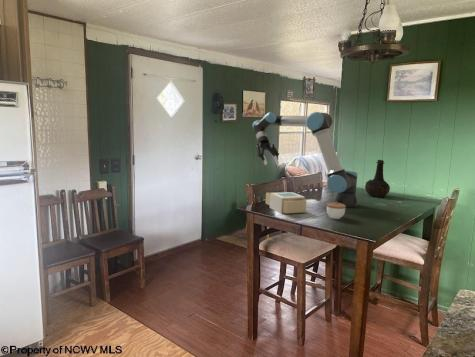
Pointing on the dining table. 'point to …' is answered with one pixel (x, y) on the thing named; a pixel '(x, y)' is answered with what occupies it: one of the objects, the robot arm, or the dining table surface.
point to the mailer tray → (290, 204)
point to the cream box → (281, 199)
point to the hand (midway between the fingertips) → (271, 163)
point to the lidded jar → (335, 210)
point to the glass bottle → (378, 183)
